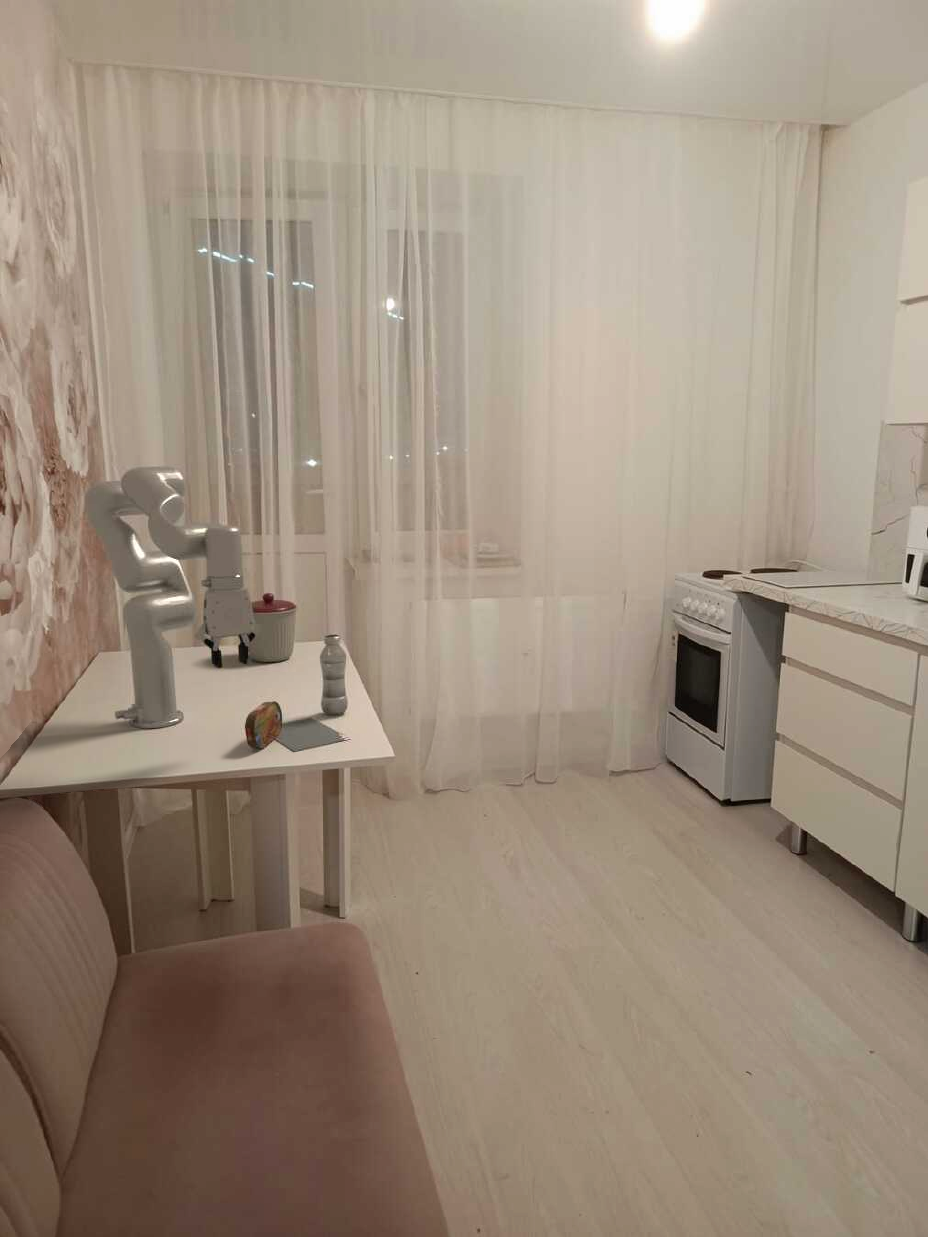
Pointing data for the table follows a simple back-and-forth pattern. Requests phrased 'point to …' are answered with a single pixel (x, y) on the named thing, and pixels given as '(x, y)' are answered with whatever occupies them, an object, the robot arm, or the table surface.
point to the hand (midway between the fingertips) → (230, 664)
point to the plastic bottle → (333, 676)
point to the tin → (263, 724)
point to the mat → (306, 734)
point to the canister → (273, 629)
